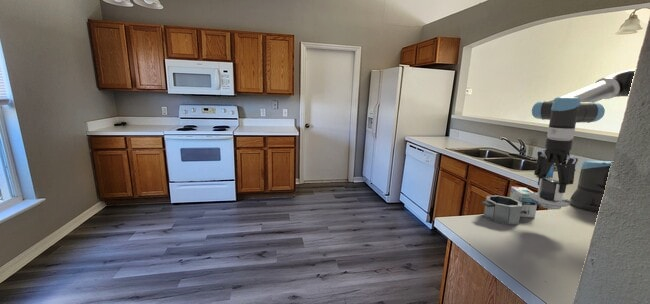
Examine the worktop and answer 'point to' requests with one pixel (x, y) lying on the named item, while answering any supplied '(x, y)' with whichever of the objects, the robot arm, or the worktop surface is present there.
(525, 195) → the light bulb box
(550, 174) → the perfume bottle
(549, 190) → the lid
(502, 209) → the pot
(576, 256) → the worktop surface
